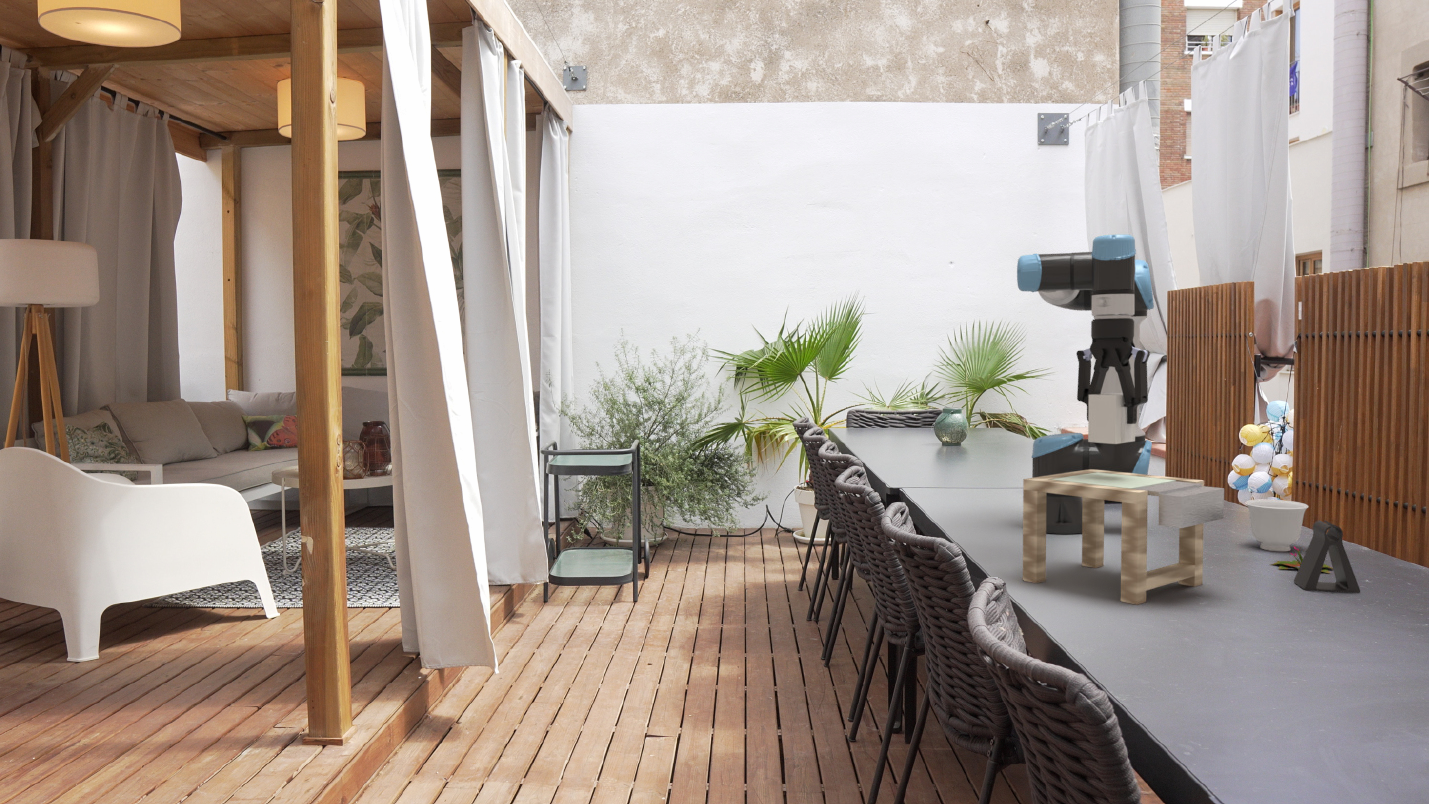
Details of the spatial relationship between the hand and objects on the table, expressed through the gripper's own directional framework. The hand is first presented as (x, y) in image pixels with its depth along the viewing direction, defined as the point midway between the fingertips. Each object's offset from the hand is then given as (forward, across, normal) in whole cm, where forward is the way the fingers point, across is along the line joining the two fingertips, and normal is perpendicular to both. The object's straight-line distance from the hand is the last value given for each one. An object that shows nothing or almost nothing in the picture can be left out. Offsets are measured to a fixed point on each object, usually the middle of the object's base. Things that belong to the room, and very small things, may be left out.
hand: (1111, 439), depth 185 cm
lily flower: (+28, +20, +38) cm, 51 cm away
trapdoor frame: (+27, +2, -2) cm, 27 cm away
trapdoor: (+13, +6, -2) cm, 15 cm away
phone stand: (+27, +29, +24) cm, 46 cm away
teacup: (+27, +8, +54) cm, 61 cm away
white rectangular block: (0, 0, 0) cm, 0 cm away
